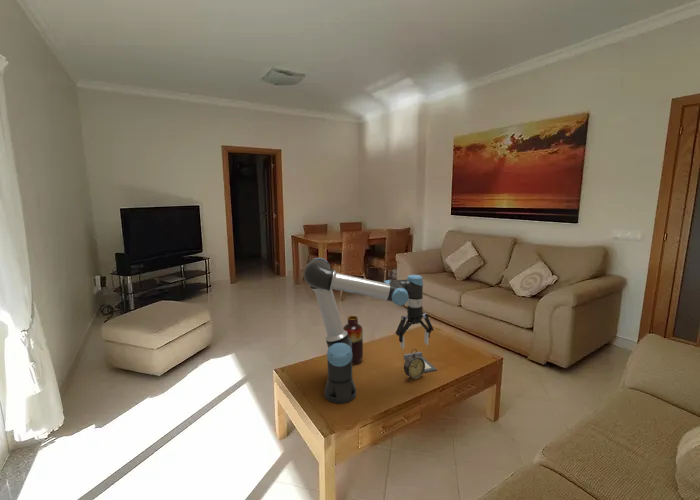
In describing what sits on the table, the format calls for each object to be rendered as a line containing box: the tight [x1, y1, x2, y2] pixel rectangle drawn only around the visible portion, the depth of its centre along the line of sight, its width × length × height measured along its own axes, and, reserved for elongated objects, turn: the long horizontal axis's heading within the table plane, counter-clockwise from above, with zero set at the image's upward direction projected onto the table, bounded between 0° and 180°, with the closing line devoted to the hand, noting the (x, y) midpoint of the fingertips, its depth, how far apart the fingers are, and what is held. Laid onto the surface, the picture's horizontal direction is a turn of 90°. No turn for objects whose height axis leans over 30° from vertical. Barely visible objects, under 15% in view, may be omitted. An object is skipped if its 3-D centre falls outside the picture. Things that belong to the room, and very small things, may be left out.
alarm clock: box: [403, 348, 425, 382], centre depth 173 cm, size 11×5×16 cm, turn 117°
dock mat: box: [403, 351, 438, 374], centre depth 189 cm, size 11×18×3 cm, turn 17°
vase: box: [343, 315, 364, 366], centre depth 192 cm, size 11×11×26 cm
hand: (414, 345), depth 172 cm, fingers open, 13 cm apart
